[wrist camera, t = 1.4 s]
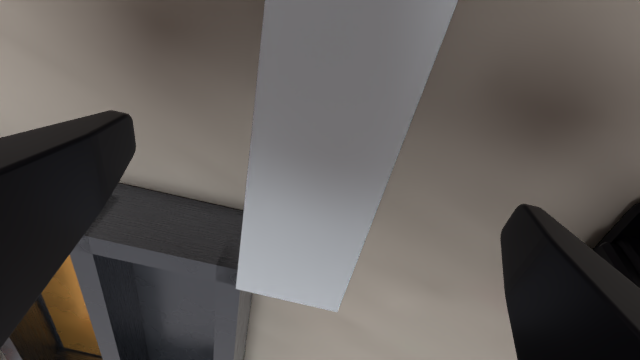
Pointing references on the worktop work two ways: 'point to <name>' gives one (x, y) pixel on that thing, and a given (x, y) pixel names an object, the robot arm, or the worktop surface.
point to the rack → (143, 286)
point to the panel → (328, 136)
